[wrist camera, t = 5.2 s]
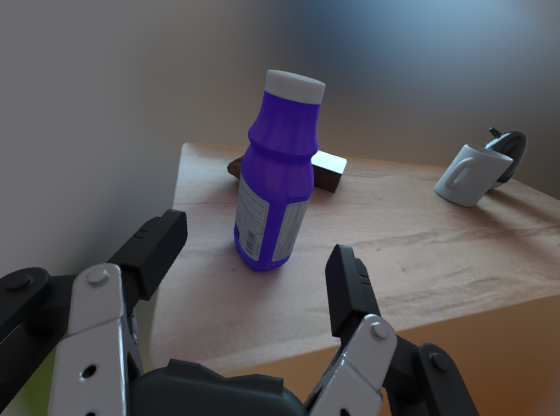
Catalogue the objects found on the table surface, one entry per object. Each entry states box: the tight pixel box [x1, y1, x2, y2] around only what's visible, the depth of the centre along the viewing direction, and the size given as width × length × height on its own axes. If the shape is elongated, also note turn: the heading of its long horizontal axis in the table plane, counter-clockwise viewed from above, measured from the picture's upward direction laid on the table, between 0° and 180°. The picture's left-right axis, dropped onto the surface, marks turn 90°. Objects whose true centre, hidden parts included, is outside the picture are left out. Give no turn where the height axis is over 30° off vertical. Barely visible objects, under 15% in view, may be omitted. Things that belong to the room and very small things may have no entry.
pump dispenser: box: [482, 127, 528, 189], centre depth 56 cm, size 10×10×15 cm
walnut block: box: [311, 151, 347, 193], centre depth 42 cm, size 7×8×4 cm
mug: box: [434, 144, 513, 207], centre depth 46 cm, size 12×8×11 cm
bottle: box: [234, 70, 325, 271], centre depth 19 cm, size 7×6×17 cm
